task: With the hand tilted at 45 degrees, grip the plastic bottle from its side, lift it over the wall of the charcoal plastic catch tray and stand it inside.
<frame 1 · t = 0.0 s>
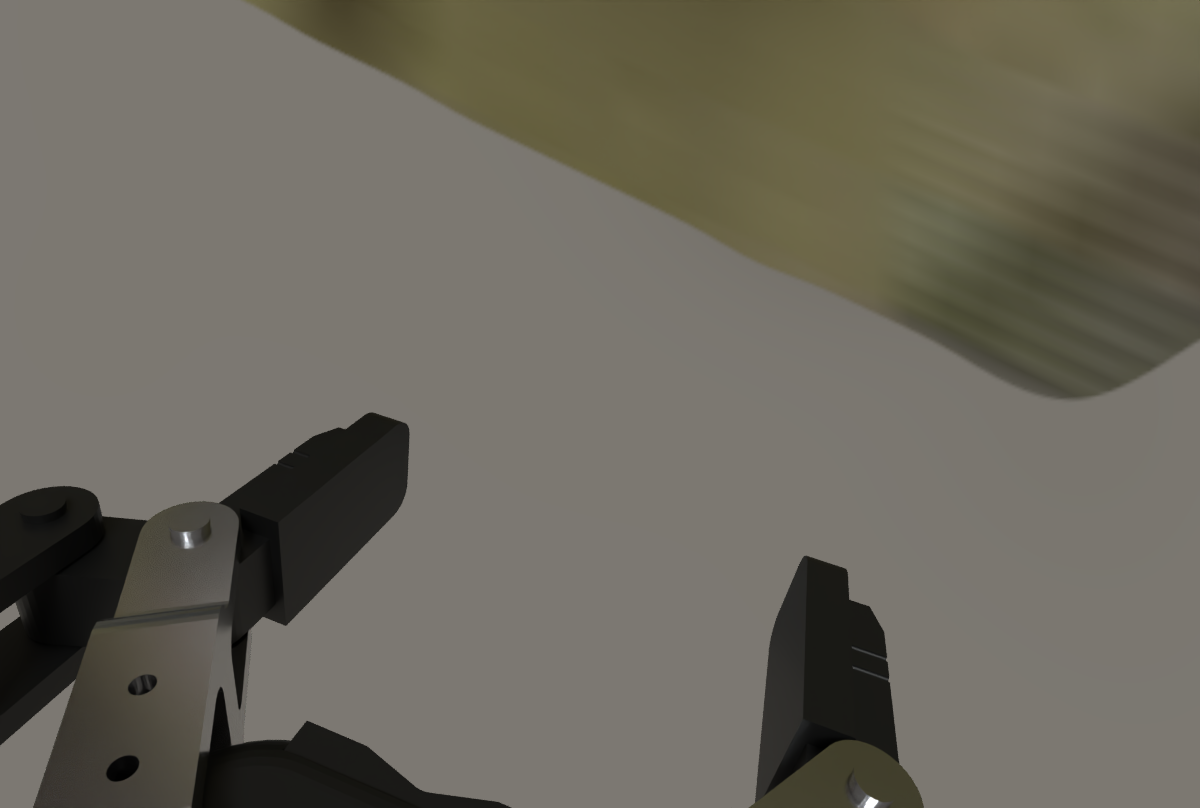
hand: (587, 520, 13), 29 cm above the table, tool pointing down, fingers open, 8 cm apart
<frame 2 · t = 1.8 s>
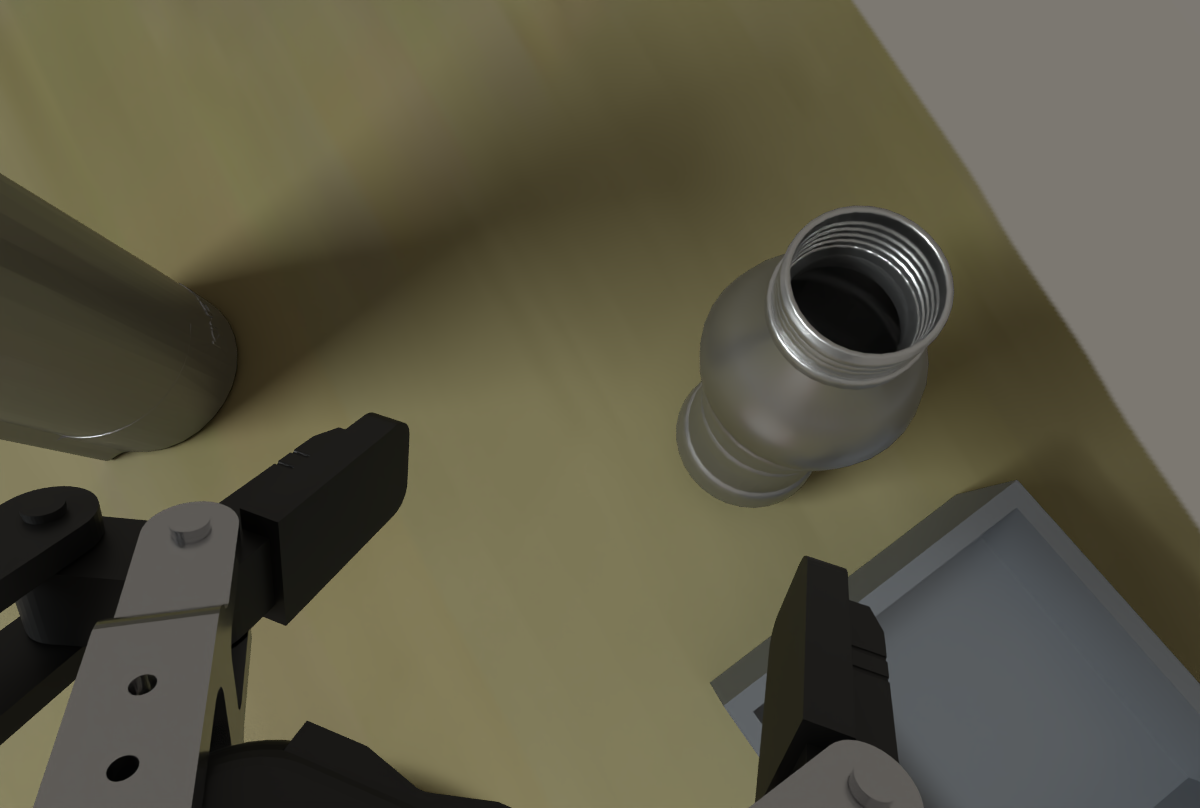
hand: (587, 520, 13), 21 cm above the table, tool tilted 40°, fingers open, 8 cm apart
catch tray: (945, 727, 30), on the table
plastic bottle: (738, 447, 34), on the table
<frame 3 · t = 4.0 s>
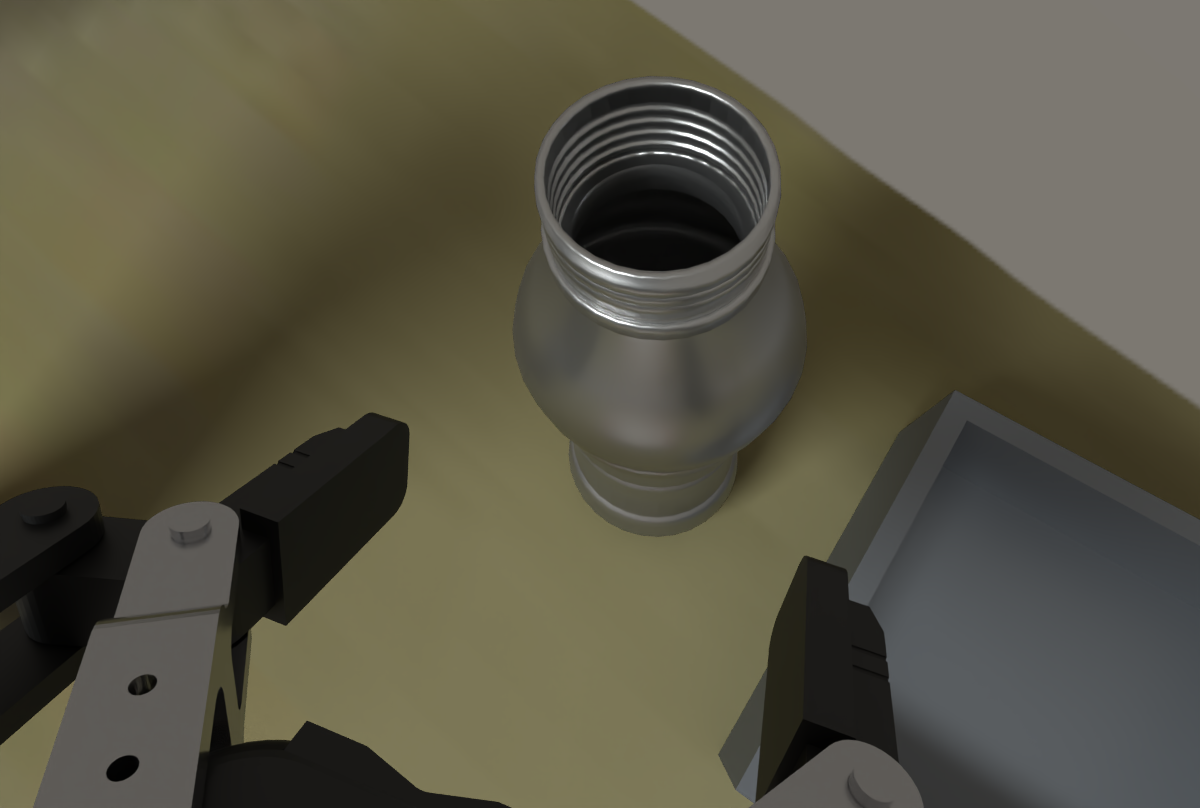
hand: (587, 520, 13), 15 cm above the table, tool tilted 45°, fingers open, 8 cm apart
catch tray: (994, 697, 25), on the table
plastic bottle: (652, 468, 29), on the table
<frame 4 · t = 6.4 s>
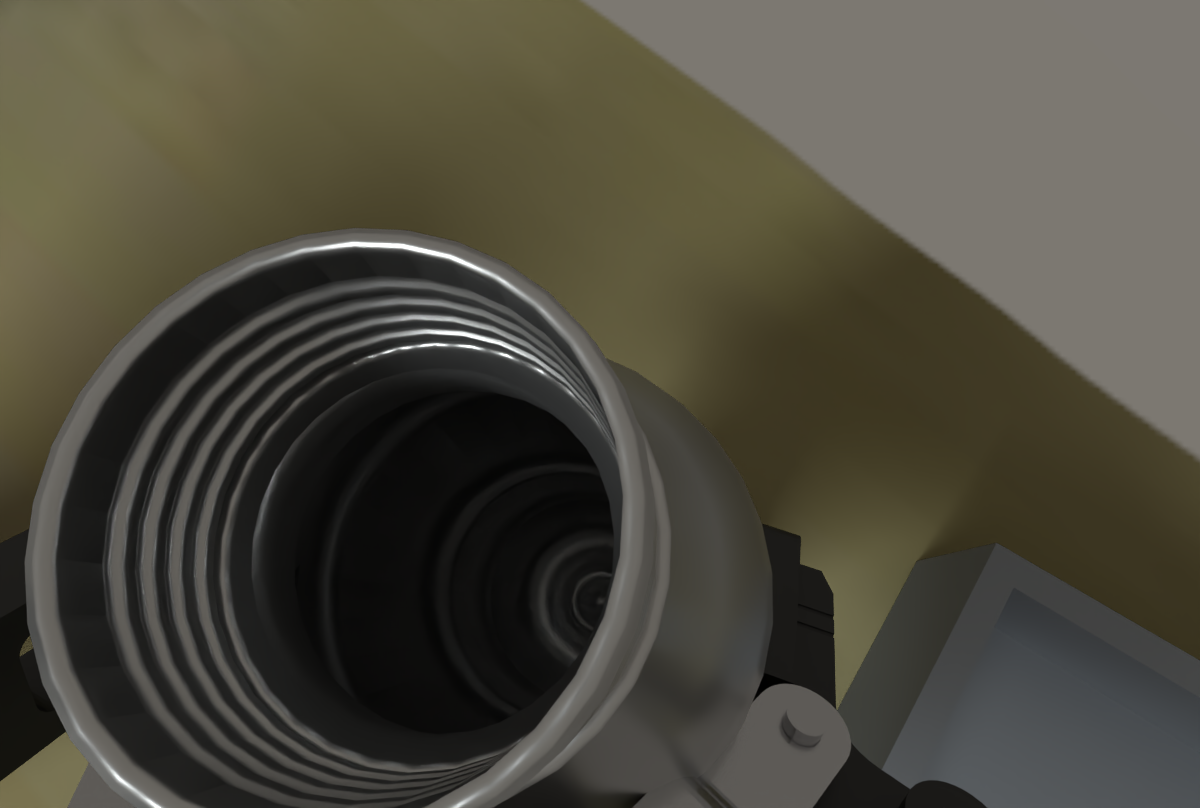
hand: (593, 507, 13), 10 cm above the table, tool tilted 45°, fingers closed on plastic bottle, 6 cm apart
plastic bottle: (603, 602, 23), on the table, touching gripper
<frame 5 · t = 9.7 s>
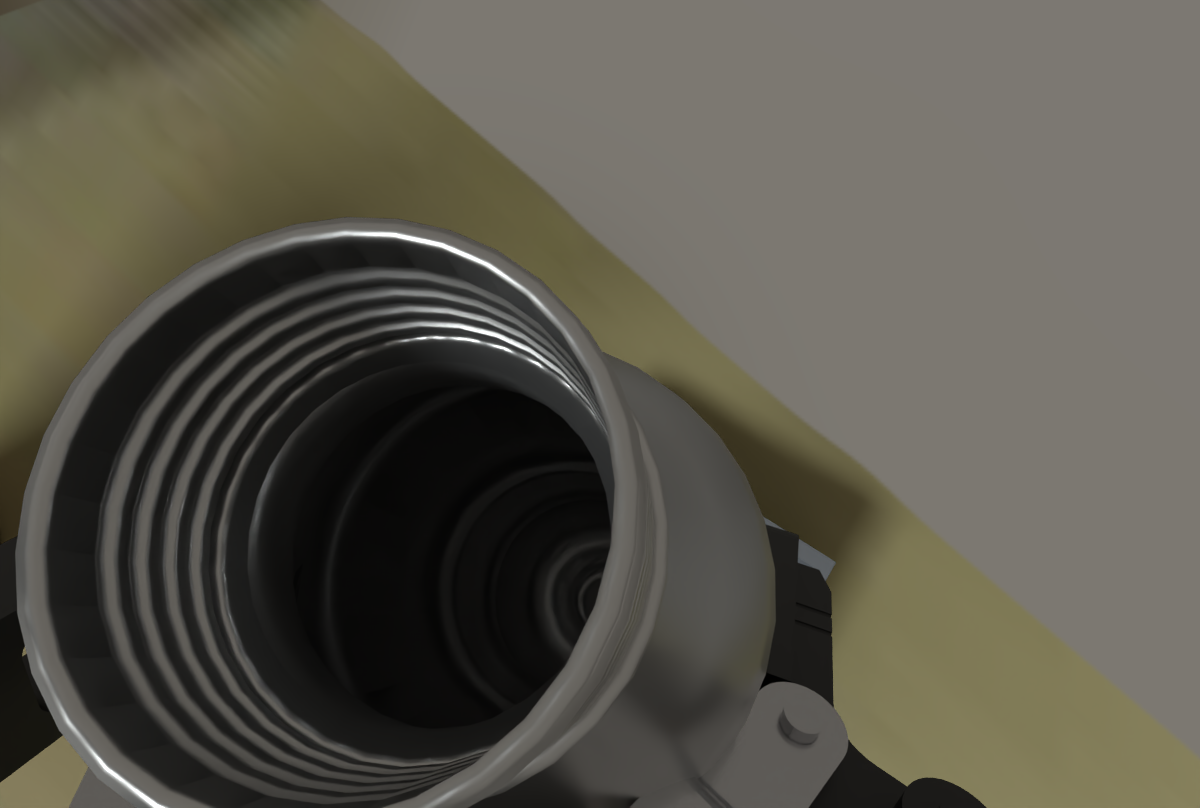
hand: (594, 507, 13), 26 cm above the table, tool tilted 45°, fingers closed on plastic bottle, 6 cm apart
catch tray: (626, 607, 38), on the table
plastic bottle: (609, 603, 23), point 16 cm above the table, touching gripper
when the fingers open (13 cm above the table, at t = 13.1 s): plastic bottle drops 1 cm, resting on catch tray.
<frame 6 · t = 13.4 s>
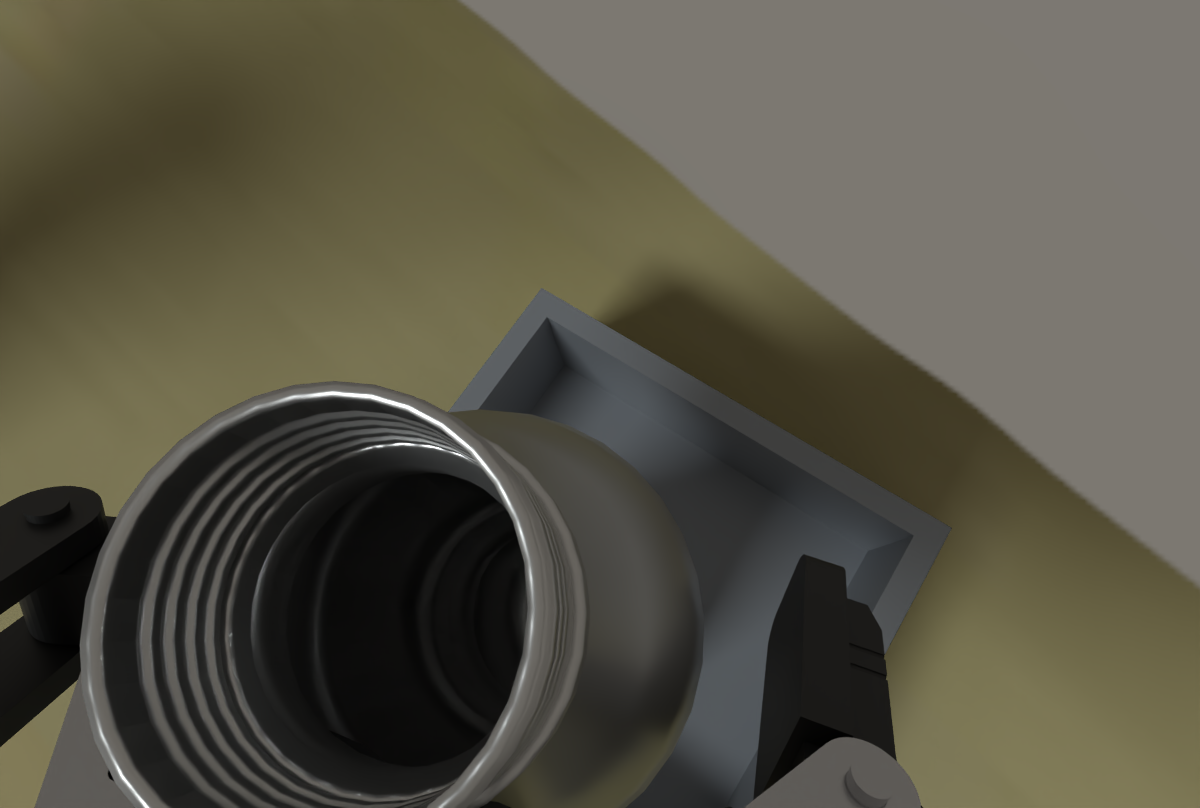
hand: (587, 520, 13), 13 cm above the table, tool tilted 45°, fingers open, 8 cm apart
catch tray: (611, 604, 25), on the table
plastic bottle: (583, 615, 24), point 1 cm above the table, touching catch tray
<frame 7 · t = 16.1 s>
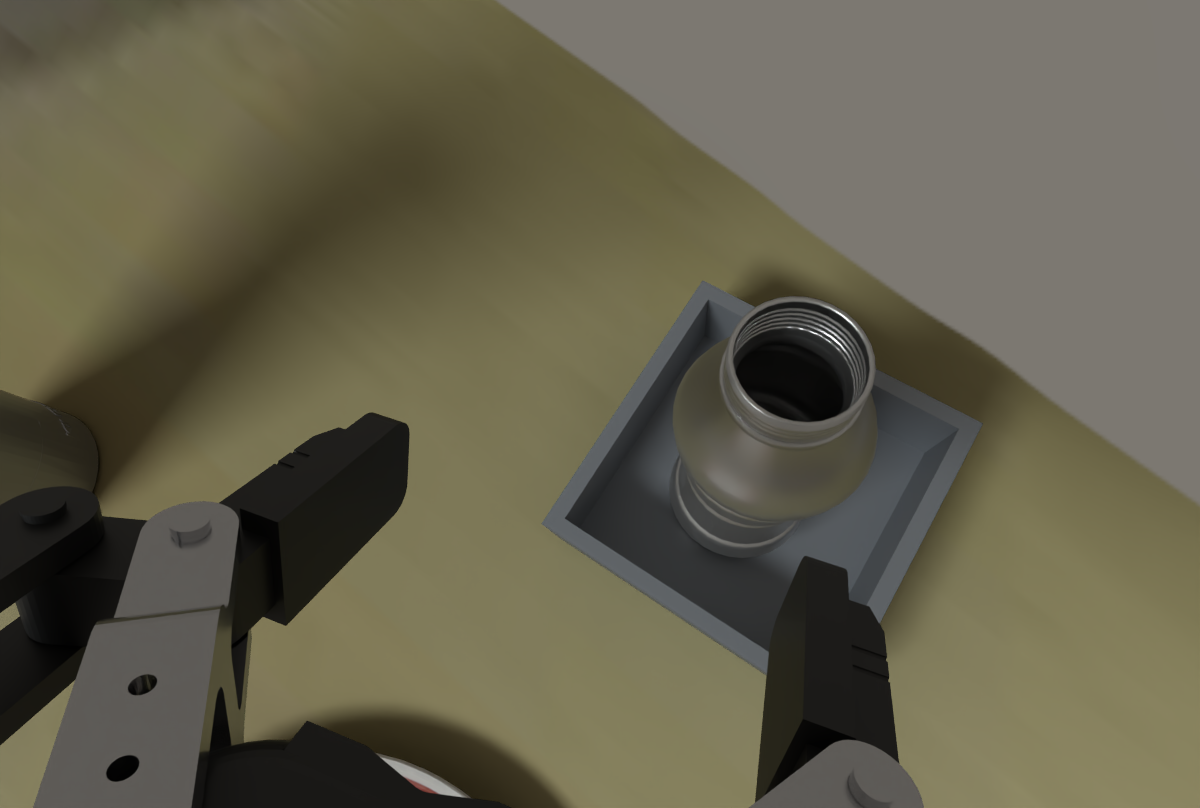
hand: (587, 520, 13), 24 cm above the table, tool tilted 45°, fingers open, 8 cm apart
catch tray: (747, 495, 37), on the table
plastic bottle: (731, 501, 36), point 1 cm above the table, touching catch tray
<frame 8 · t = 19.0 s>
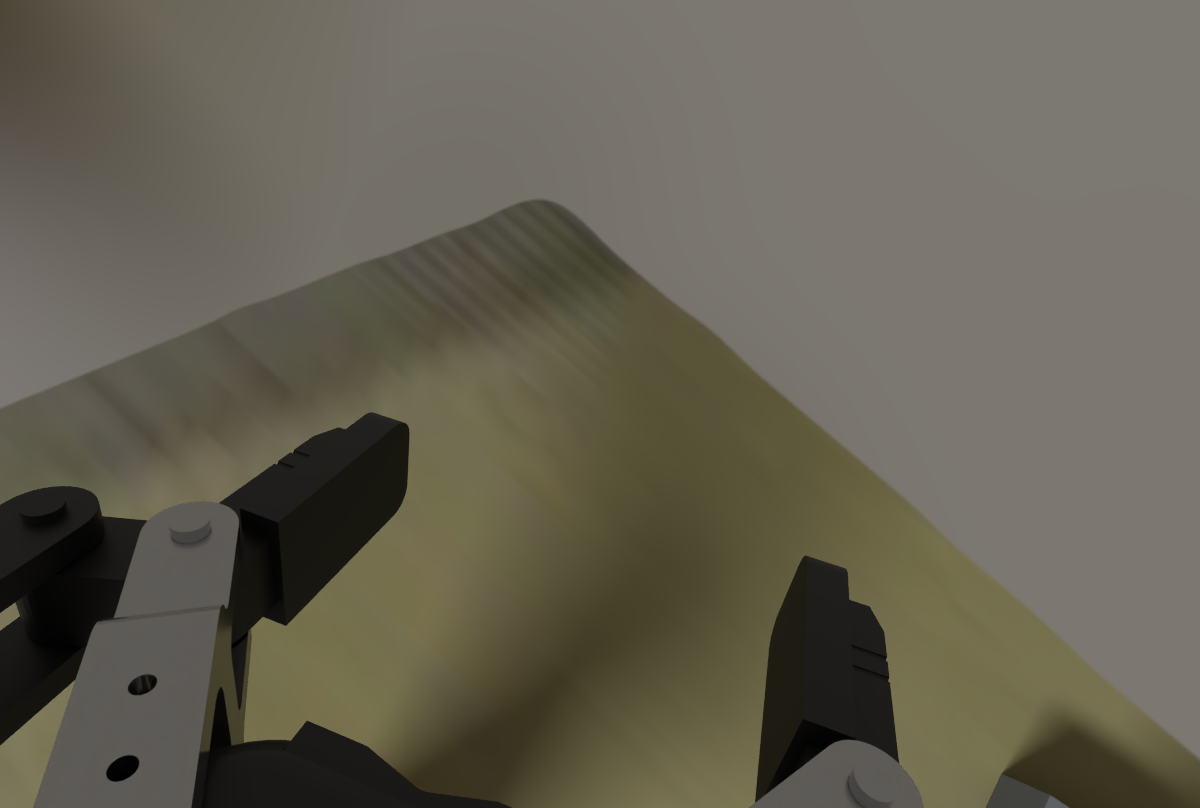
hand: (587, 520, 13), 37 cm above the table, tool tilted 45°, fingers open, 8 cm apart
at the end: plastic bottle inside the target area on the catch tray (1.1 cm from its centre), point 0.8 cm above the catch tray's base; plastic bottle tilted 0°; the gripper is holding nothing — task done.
